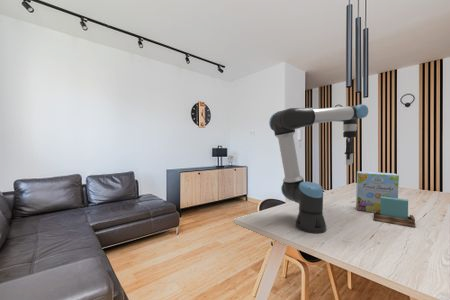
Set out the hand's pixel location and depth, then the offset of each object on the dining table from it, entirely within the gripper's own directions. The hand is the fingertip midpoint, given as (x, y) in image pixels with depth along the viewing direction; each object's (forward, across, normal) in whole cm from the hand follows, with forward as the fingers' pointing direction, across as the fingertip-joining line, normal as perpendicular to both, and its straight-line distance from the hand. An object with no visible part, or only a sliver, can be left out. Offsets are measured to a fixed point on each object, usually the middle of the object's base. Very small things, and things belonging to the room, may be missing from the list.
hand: (349, 164), depth 132 cm
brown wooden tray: (+32, -2, -22) cm, 39 cm away
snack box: (+32, +13, -14) cm, 37 cm away
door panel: (+31, -2, -22) cm, 38 cm away
